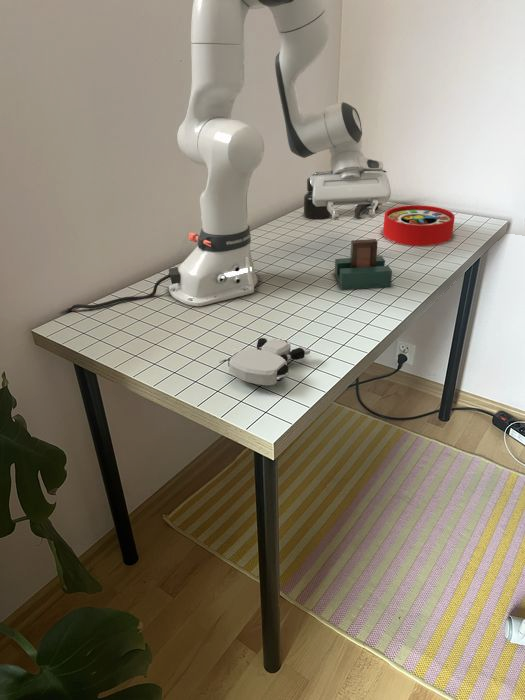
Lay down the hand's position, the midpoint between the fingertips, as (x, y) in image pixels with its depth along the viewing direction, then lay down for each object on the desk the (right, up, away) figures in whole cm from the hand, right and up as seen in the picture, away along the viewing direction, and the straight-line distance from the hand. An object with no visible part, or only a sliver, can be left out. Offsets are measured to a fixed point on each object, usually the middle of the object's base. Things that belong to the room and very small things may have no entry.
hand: (353, 218), depth 142 cm
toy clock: (+23, +1, +23) cm, 32 cm away
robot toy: (-23, -38, -38) cm, 59 cm away
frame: (+1, -16, -5) cm, 16 cm away
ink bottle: (-5, +11, +43) cm, 45 cm away
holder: (+1, -17, -4) cm, 17 cm away
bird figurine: (+13, +13, +45) cm, 49 cm away
